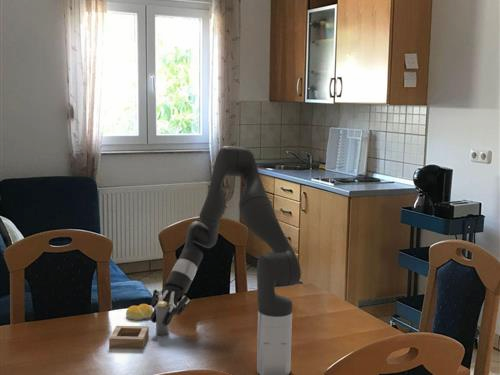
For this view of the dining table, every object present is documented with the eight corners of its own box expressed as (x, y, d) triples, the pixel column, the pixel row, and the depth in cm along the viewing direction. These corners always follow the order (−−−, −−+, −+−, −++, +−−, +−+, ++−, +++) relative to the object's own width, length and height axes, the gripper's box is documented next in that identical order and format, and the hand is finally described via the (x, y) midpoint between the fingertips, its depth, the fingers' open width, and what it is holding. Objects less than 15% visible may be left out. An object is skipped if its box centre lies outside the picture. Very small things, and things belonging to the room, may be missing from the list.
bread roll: (123, 314, 203) (123, 303, 203) (149, 311, 207) (149, 300, 206) (129, 322, 196) (129, 311, 195) (155, 318, 199) (155, 307, 199)
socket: (143, 348, 175) (142, 339, 174) (109, 348, 175) (109, 338, 174) (148, 335, 185) (148, 326, 184) (116, 334, 185) (116, 325, 184)
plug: (167, 335, 185) (168, 305, 183) (155, 335, 185) (155, 304, 183) (169, 331, 189) (169, 300, 187) (157, 330, 189) (157, 300, 187)
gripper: (159, 266, 194) (135, 313, 185) (195, 273, 187) (171, 322, 178) (169, 278, 199) (146, 324, 191) (204, 285, 192) (182, 333, 184)
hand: (158, 322), depth 185 cm, fingers closed on plug, 4 cm apart
